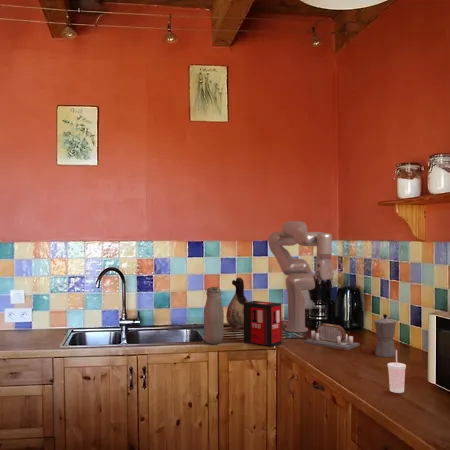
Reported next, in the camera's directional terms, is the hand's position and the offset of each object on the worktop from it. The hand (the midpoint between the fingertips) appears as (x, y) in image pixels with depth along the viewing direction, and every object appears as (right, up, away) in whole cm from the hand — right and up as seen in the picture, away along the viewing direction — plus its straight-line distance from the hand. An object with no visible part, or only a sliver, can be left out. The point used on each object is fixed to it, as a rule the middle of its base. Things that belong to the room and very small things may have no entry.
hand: (323, 290), depth 263 cm
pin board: (+2, -25, -13) cm, 28 cm away
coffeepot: (+22, -25, -34) cm, 47 cm away
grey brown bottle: (-56, -26, -9) cm, 62 cm away
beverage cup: (+9, -24, -86) cm, 90 cm away
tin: (+1, -24, -13) cm, 27 cm away
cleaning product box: (-32, -25, -9) cm, 42 cm away
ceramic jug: (-42, -26, +24) cm, 55 cm away
